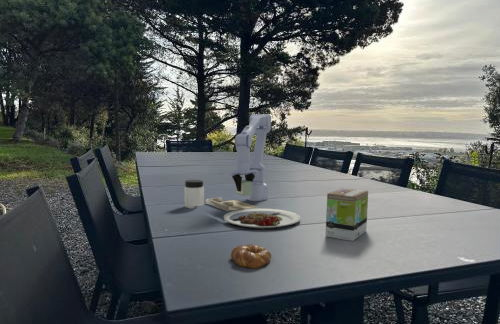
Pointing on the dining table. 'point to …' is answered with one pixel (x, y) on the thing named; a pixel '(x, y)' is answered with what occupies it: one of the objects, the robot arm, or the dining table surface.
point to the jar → (193, 193)
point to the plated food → (263, 218)
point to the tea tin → (245, 188)
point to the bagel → (250, 256)
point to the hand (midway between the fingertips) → (243, 190)
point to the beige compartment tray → (228, 204)
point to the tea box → (346, 214)
